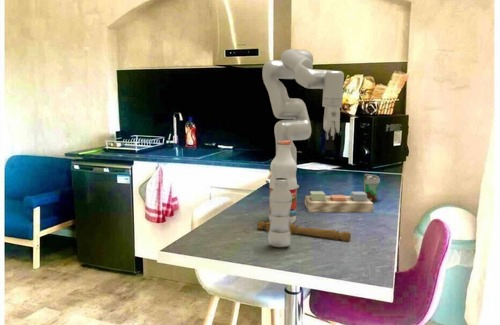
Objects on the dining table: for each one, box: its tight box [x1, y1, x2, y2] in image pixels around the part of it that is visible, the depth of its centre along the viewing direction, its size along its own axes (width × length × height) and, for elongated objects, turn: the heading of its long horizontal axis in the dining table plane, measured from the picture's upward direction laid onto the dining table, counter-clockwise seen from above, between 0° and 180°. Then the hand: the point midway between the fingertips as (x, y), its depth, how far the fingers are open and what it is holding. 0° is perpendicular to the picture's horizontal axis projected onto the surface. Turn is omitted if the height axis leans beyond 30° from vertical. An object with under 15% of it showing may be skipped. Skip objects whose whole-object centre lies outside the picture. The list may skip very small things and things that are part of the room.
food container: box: [363, 173, 381, 203], centre depth 189 cm, size 12×6×10 cm, turn 168°
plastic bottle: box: [267, 178, 292, 248], centre depth 131 cm, size 6×7×20 cm
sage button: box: [309, 190, 326, 201], centre depth 175 cm, size 5×5×4 cm
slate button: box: [350, 191, 367, 201], centre depth 176 cm, size 5×5×4 cm
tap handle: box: [256, 220, 352, 242], centre depth 143 cm, size 3×3×30 cm
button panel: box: [304, 195, 374, 214], centre depth 176 cm, size 24×12×4 cm, turn 91°
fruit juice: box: [268, 140, 298, 224], centre depth 156 cm, size 9×9×28 cm
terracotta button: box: [330, 194, 346, 201], centre depth 176 cm, size 5×5×4 cm
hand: (328, 149), depth 181 cm, fingers closed
